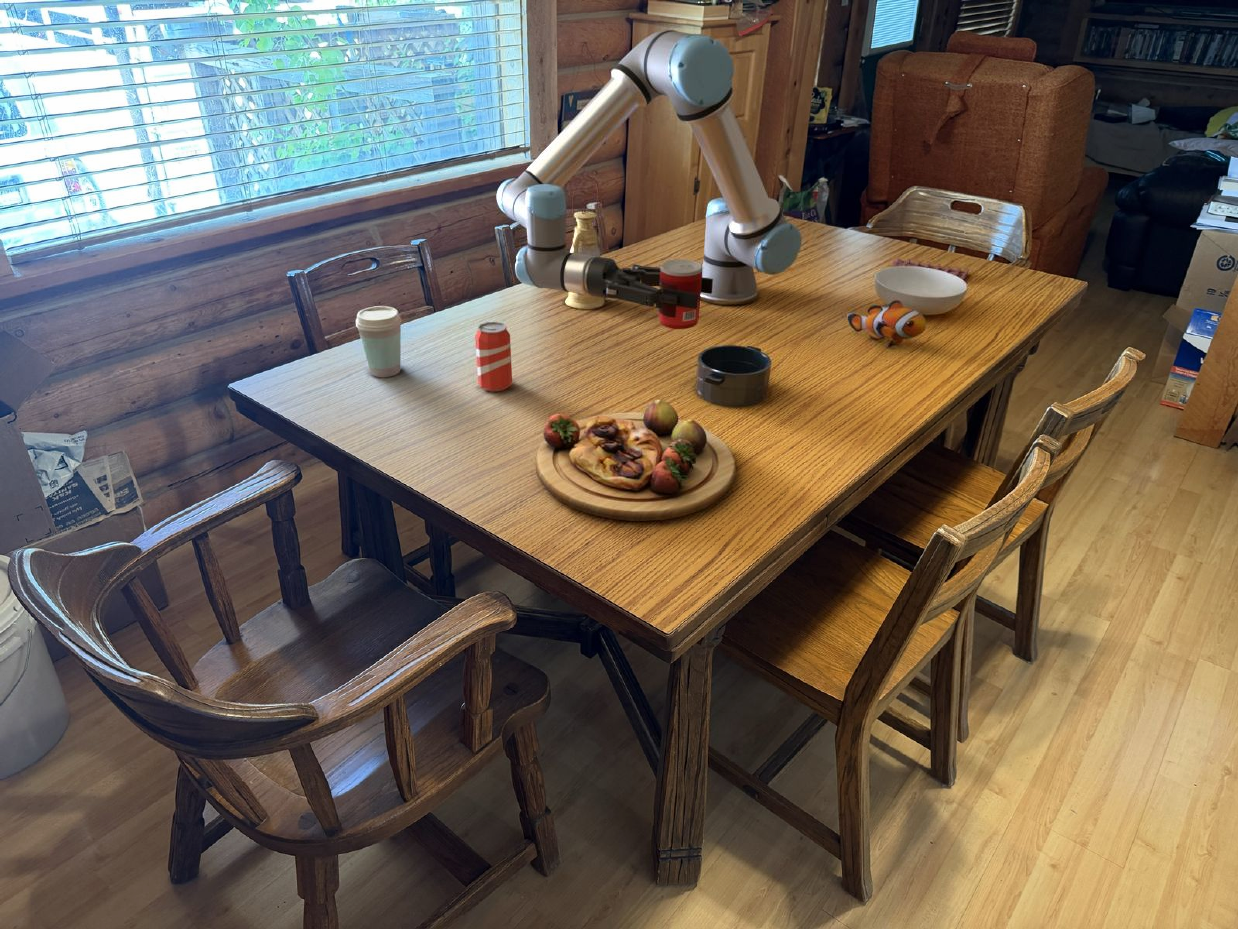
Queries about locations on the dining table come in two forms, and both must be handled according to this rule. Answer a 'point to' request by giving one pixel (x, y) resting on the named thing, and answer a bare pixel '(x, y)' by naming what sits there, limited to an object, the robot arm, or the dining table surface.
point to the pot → (734, 375)
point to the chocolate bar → (932, 267)
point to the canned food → (684, 279)
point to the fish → (889, 322)
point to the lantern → (584, 252)
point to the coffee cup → (381, 339)
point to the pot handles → (719, 379)
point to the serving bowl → (920, 288)
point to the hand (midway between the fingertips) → (704, 293)
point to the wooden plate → (634, 464)
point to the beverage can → (493, 356)
